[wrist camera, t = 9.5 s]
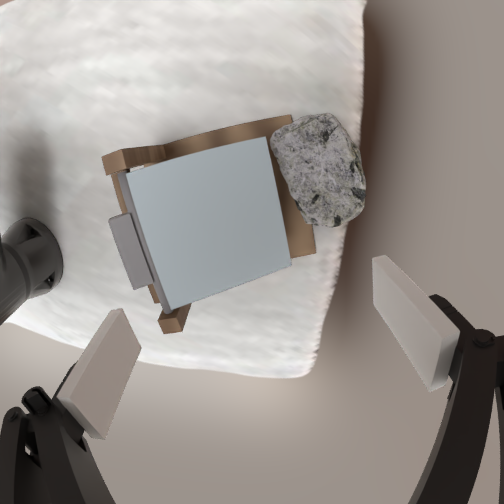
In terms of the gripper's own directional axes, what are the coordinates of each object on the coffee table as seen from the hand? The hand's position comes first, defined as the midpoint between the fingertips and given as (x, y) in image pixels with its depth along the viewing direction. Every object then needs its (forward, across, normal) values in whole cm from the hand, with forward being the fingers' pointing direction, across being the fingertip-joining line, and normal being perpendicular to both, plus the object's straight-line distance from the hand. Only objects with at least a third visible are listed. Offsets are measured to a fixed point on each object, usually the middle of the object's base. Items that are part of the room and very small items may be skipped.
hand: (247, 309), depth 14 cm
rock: (+24, +10, +2) cm, 26 cm away
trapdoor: (+20, -5, 0) cm, 20 cm away
